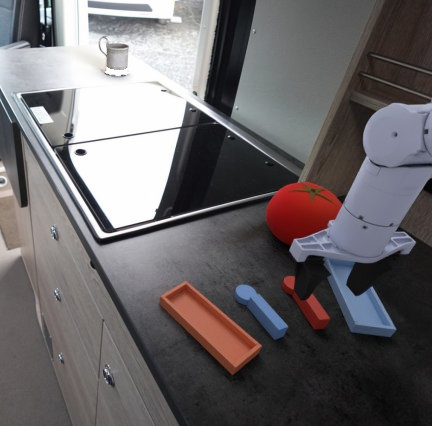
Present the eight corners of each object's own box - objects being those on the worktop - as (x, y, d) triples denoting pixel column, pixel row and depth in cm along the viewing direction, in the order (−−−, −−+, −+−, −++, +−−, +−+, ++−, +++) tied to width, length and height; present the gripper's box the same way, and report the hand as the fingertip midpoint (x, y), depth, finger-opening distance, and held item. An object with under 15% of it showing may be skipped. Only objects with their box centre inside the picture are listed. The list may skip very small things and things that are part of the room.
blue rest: (390, 337, 51) (396, 329, 50) (350, 332, 51) (355, 324, 50) (353, 267, 62) (357, 259, 60) (320, 263, 62) (324, 256, 61)
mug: (134, 72, 144) (136, 39, 137) (117, 78, 139) (119, 43, 131) (107, 65, 152) (107, 32, 145) (90, 69, 146) (89, 36, 139)
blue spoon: (287, 335, 51) (293, 325, 49) (270, 341, 50) (274, 331, 48) (246, 287, 57) (249, 277, 56) (230, 292, 56) (233, 282, 55)
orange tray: (258, 353, 48) (262, 345, 47) (232, 375, 46) (235, 367, 45) (184, 288, 57) (186, 280, 56) (158, 303, 54) (160, 296, 53)
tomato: (276, 210, 74) (293, 163, 67) (341, 240, 67) (366, 191, 61) (248, 235, 67) (263, 186, 61) (316, 271, 61) (341, 220, 54)
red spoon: (329, 328, 52) (335, 318, 50) (309, 330, 51) (314, 320, 50) (296, 280, 59) (300, 270, 57) (278, 281, 58) (282, 271, 57)
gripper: (404, 188, 45) (356, 267, 54) (292, 193, 44) (261, 274, 52) (452, 224, 40) (392, 306, 48) (327, 232, 38) (286, 315, 46)
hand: (326, 292), depth 50 cm, fingers open, 7 cm apart
